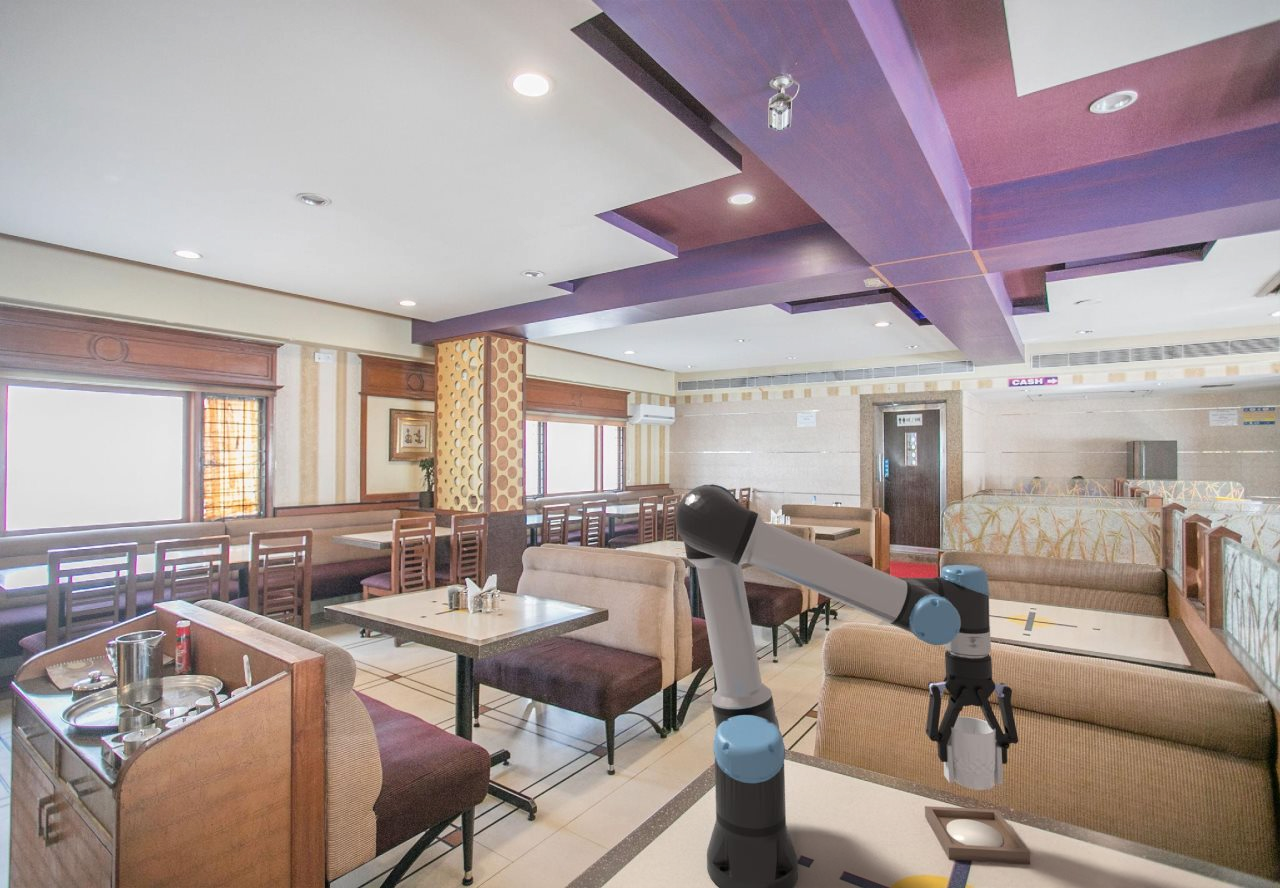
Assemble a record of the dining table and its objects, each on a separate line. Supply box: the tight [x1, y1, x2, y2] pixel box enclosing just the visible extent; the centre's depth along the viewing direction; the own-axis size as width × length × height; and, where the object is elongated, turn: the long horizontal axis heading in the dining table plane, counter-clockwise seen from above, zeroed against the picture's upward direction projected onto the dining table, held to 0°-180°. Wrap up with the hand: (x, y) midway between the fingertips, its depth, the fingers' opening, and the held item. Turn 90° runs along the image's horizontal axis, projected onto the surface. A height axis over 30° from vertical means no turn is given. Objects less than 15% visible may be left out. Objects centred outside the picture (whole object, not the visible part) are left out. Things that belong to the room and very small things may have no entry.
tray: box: [924, 805, 1031, 865], centre depth 114 cm, size 13×13×2 cm
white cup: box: [948, 716, 996, 791], centre depth 114 cm, size 8×8×10 cm
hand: (973, 779), depth 114 cm, fingers closed on white cup, 8 cm apart
